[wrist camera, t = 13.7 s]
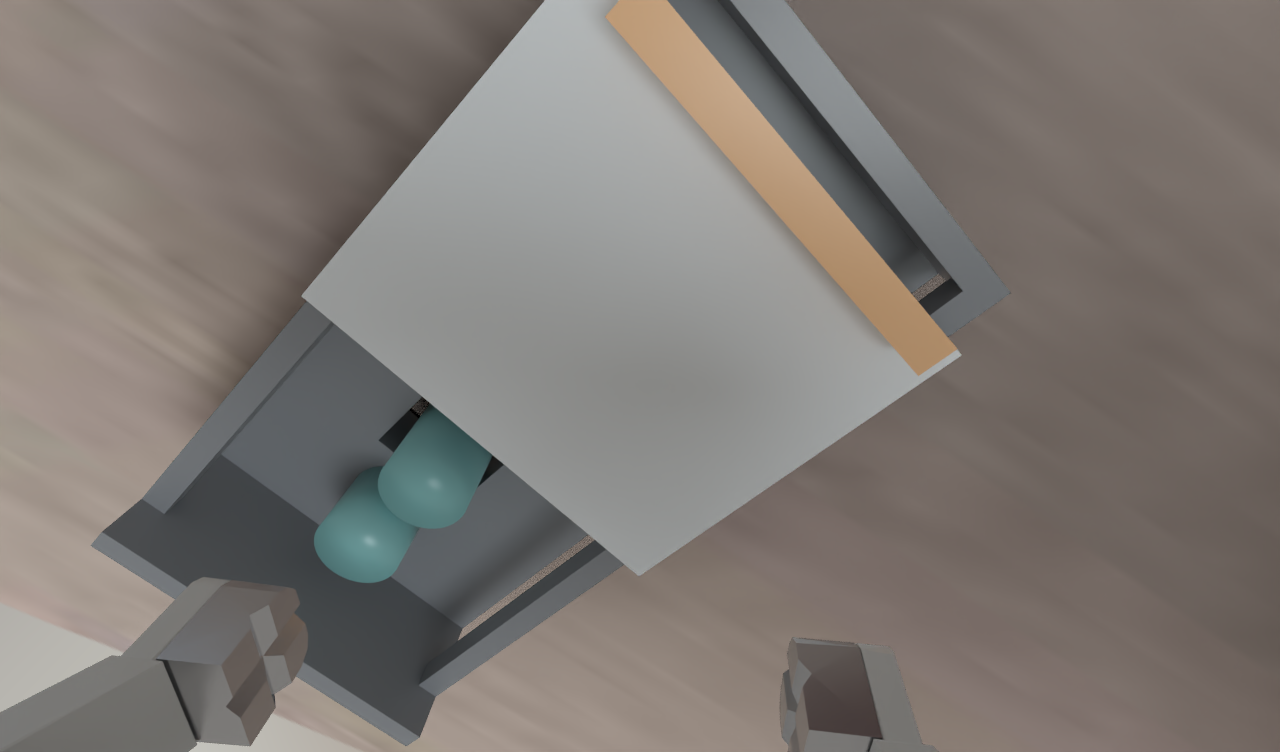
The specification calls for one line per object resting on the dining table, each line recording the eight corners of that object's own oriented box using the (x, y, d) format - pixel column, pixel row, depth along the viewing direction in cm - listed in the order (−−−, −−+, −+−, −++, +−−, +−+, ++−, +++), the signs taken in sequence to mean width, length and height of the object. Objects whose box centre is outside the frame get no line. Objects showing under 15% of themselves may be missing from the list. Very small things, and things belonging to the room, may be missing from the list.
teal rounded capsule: (525, 412, 32) (487, 496, 26) (477, 454, 33) (431, 542, 27) (466, 362, 30) (414, 437, 25) (420, 407, 32) (360, 488, 26)
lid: (950, 341, 21) (988, 386, 18) (640, 557, 25) (634, 617, 23) (609, -67, 16) (593, -88, 14) (317, 285, 21) (263, 320, 19)
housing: (935, 233, 26) (1041, 317, 18) (468, 594, 37) (406, 746, 29) (680, -90, 22) (673, -165, 14) (237, 423, 33) (90, 545, 25)
